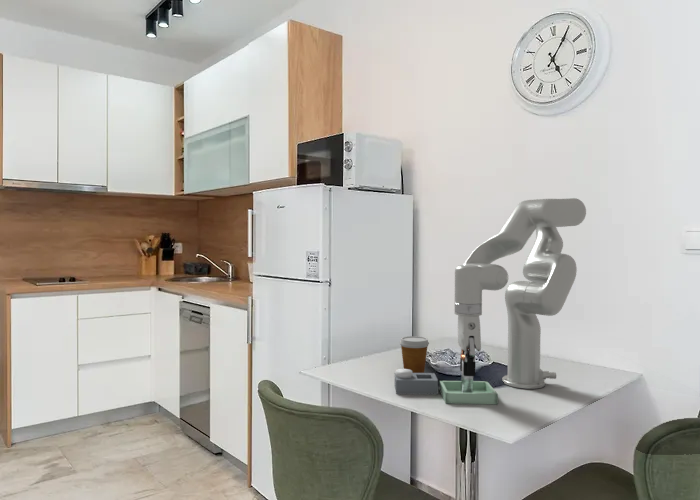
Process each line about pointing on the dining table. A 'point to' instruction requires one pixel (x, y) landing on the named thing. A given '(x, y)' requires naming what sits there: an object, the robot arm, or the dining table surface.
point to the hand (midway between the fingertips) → (467, 372)
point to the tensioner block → (415, 382)
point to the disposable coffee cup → (414, 353)
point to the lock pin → (466, 380)
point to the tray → (480, 394)
